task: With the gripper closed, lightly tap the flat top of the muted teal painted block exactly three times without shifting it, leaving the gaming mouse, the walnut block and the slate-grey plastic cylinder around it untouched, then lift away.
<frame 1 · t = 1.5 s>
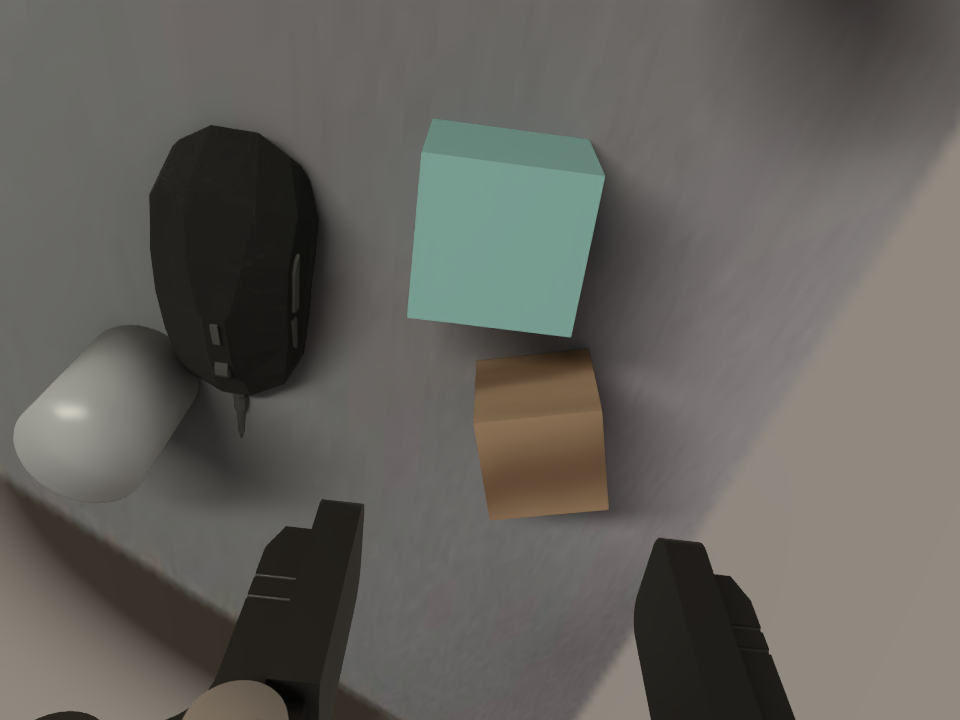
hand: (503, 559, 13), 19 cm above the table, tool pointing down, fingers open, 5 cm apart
gaming mouse: (244, 293, 33), on the table, touching grey cylinder
grey cylinder: (143, 373, 34), on the table, touching gaming mouse
teal block: (500, 204, 30), on the table
walnut block: (537, 400, 35), on the table
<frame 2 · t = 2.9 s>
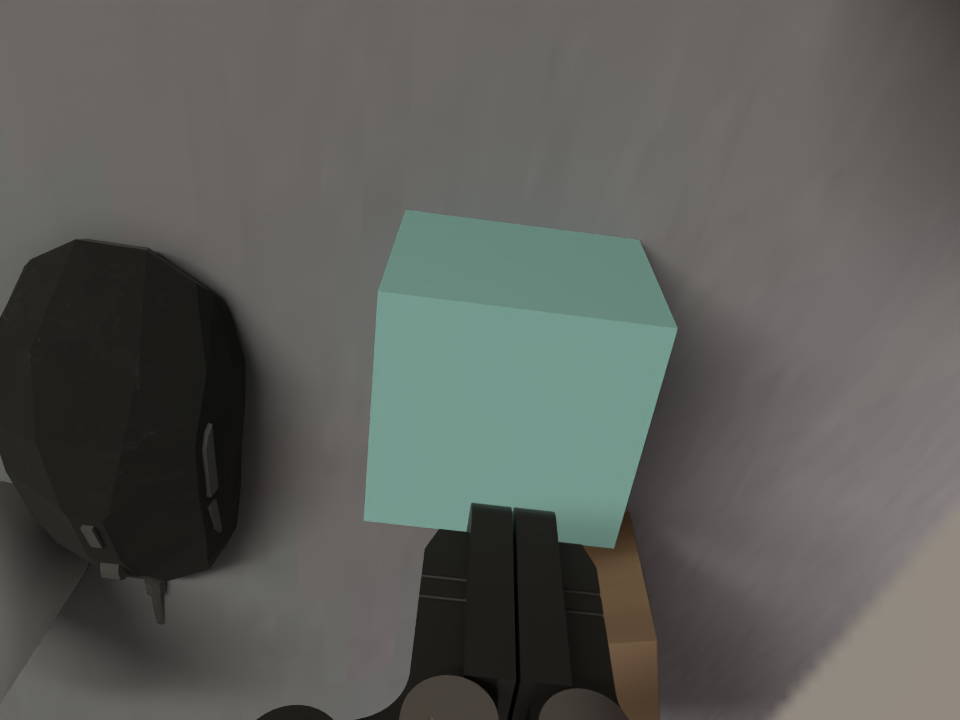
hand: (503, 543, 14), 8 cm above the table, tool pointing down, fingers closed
gaming mouse: (151, 449, 24), on the table
grey cylinder: (13, 539, 25), on the table
teal block: (506, 326, 21), on the table
walnut block: (556, 573, 25), on the table
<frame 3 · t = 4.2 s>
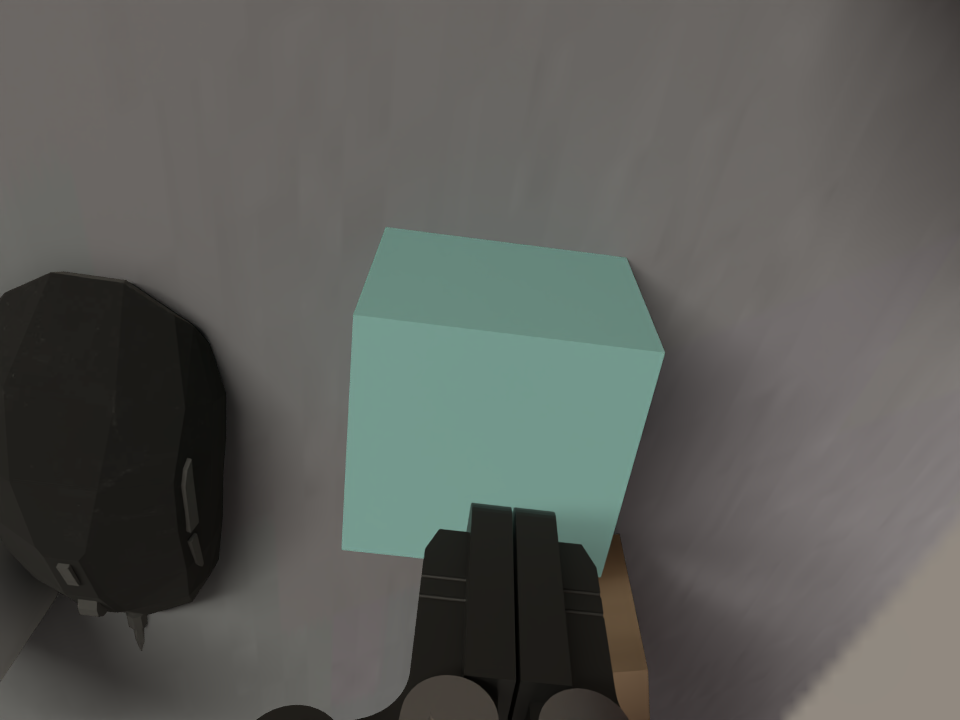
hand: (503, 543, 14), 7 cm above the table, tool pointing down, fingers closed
gaming mouse: (132, 481, 23), on the table
teal block: (490, 346, 20), on the table
walnut block: (545, 596, 25), on the table
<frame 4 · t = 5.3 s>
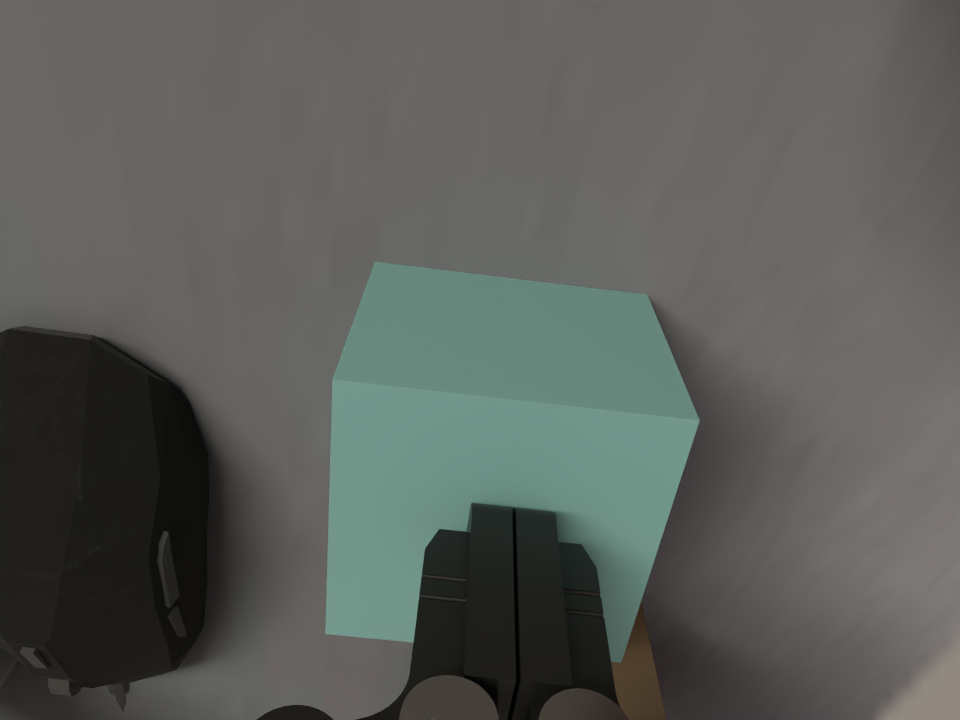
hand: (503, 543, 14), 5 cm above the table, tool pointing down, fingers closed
gaming mouse: (109, 541, 21), on the table
teal block: (494, 390, 18), on the table
walnut block: (557, 655, 23), on the table
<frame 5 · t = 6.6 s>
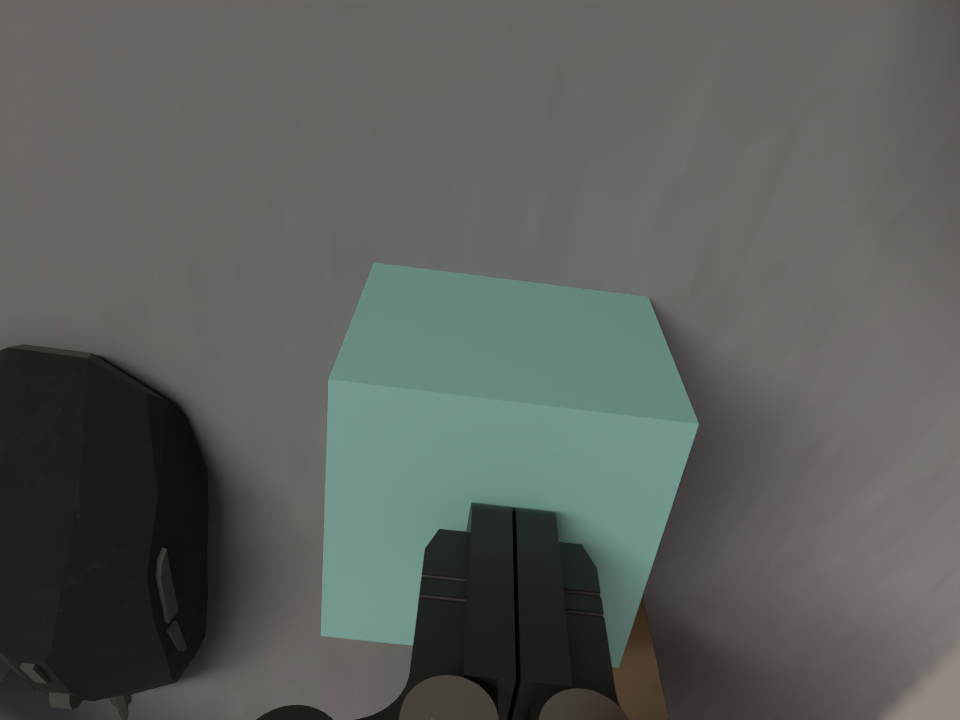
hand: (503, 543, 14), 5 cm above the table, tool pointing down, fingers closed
gaming mouse: (110, 555, 21), on the table
teal block: (493, 392, 18), on the table
walnut block: (559, 657, 22), on the table
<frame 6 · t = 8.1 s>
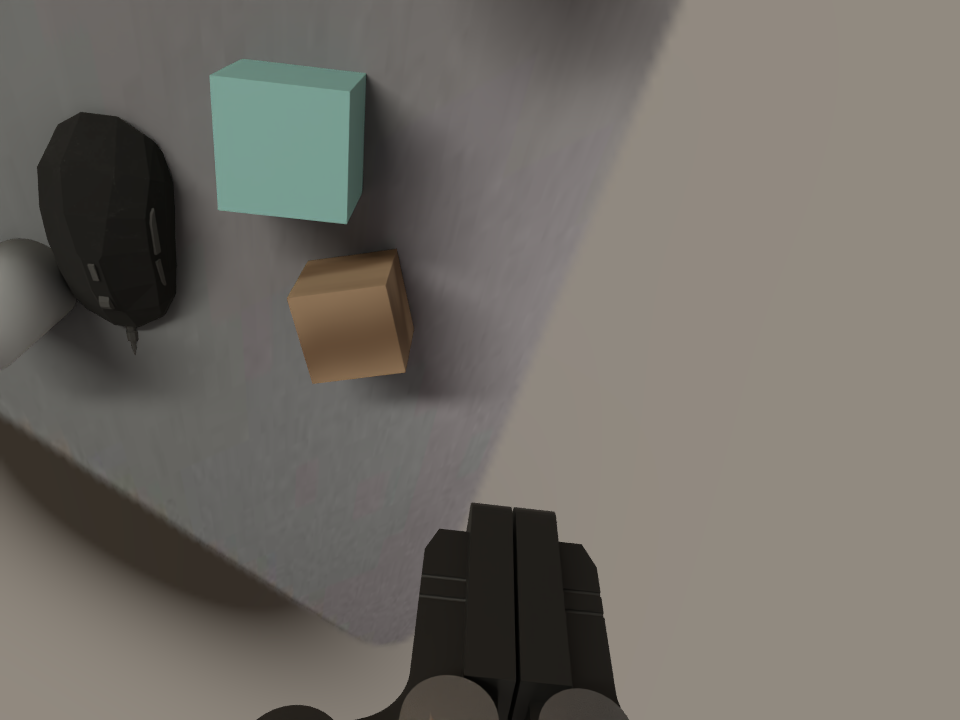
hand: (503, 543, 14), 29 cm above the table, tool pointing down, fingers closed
gaming mouse: (126, 245, 42), on the table
grey cylinder: (32, 280, 42), on the table
teal block: (305, 128, 38), on the table
walnut block: (362, 295, 43), on the table
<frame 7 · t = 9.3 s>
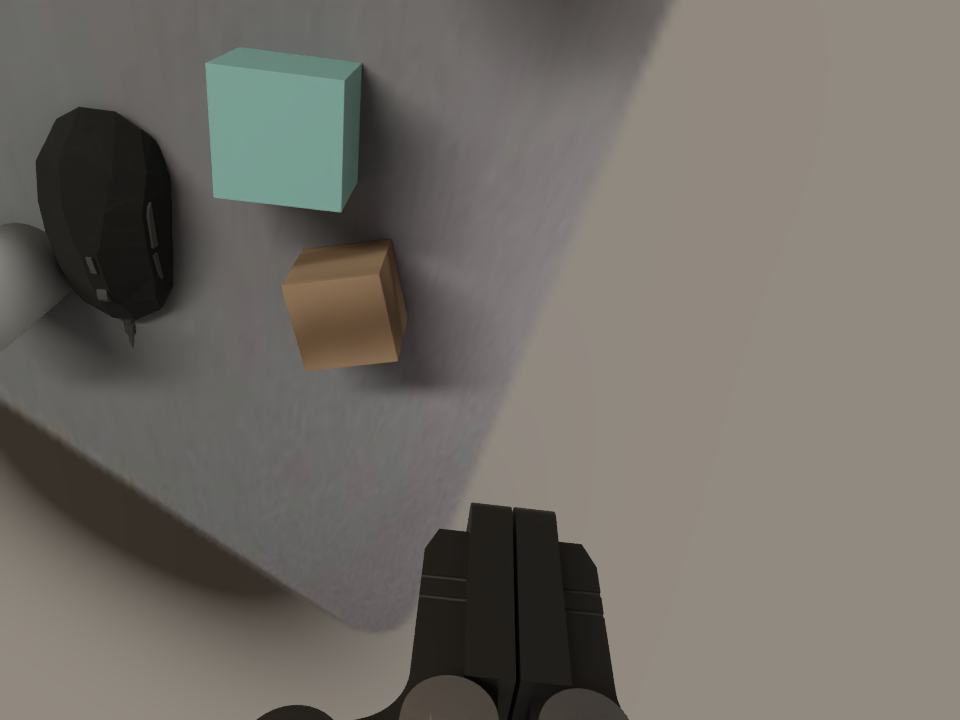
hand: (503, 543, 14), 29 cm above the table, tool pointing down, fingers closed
gaming mouse: (124, 239, 42), on the table
grey cylinder: (28, 265, 43), on the table
teal block: (301, 117, 38), on the table
walnut block: (356, 284, 43), on the table
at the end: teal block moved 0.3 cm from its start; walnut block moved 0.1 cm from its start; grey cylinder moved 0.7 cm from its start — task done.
